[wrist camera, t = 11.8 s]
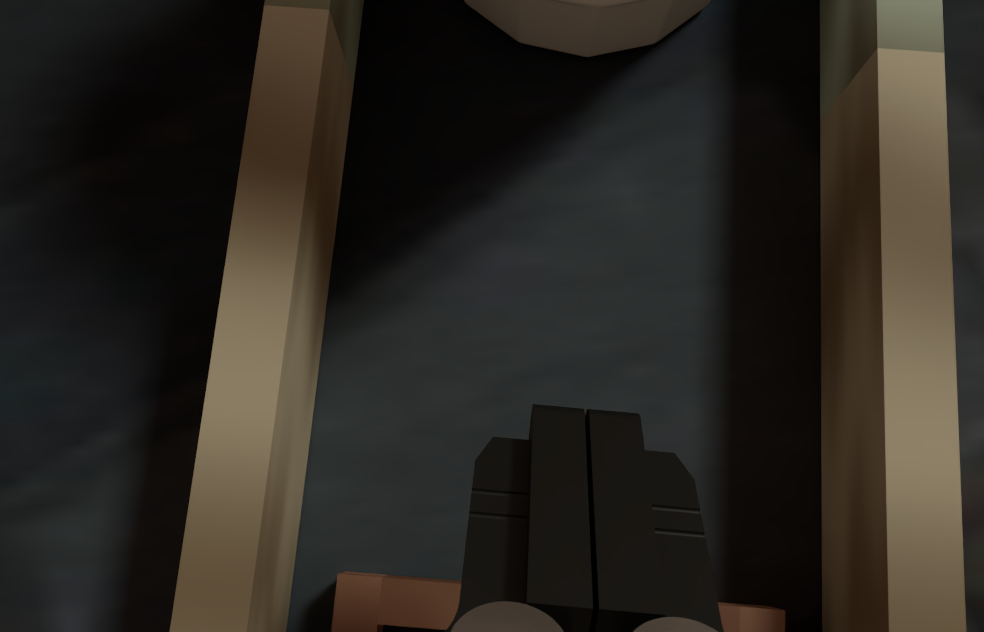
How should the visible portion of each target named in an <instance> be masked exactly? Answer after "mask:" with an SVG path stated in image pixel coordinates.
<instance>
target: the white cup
mask: <svg viewBox="0 0 984 632" xmlns="http://www.w3.org/2000/svg"><path fill="white" fill-rule="evenodd" d="M710 1H711V0H464V2H465V3H466V4H467V5H468V6H470V7H471V8H472V9H474V10H475V11H477V12H478V13H479V14H481V15H482V16H483V17H485V18H486V19H487V20H489V21H490V22H492V23H493V24H494V25H496V26H497V27H498V28H500V29H501V30H502V31H504V32H505V33H507V34H508V35H509V36H511V37H512V38H513V39H515V40H516V41H518V42H519V43H522V44H527V45H532V46H536V47H541V48H546V49H551V50H555V51H560V52H565V53H569V54H574V55H578V56H583V57H592V56H597V55H602V54H607V53H612V52H617V51H622V50H627V49H632V48H637V47H642V46H647V45H652V44H655V43H657V42H658V41H659V40H661V39H662V38H664V37H665V36H666V35H668V34H669V33H670V32H672V31H673V30H675V29H676V28H677V27H679V26H680V25H681V24H683V23H684V22H686V21H687V20H688V19H690V18H691V17H692V16H694V15H695V14H697V13H698V12H699V11H701V10H702V9H703V8H705V7H706V6H707V5H708V4H709V3H710Z"/></svg>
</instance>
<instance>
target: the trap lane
mask: <svg viewBox="0 0 984 632" xmlns="http://www.w3.org/2000/svg"><path fill="white" fill-rule="evenodd" d="M363 5H364V0H265V3H264V10H263V17H262V23H261V30H260V36H259V43H258V50H257V56H256V63H255V69H254V76H253V83H252V89H251V96H250V103H249V109H248V116H247V122H246V129H245V136H244V142H243V149H242V156H241V162H240V169H239V175H238V182H237V189H236V195H235V202H234V208H233V215H232V222H231V228H230V235H229V242H228V248H227V255H226V261H225V268H224V275H223V281H222V288H221V294H220V301H219V308H218V314H217V321H216V328H215V334H214V341H213V347H212V354H211V361H210V367H209V374H208V381H207V387H206V394H205V400H204V407H203V414H202V420H201V427H200V433H199V440H198V447H197V453H196V460H195V467H194V473H193V480H192V486H191V493H190V500H189V506H188V513H187V519H186V526H185V533H184V539H183V546H182V553H181V559H180V566H179V572H178V579H177V586H176V592H175V599H174V606H173V612H172V619H171V625H170V632H286V629H287V621H288V613H289V605H290V597H291V589H292V580H293V572H294V564H295V556H296V548H297V540H298V532H299V524H300V516H301V508H302V499H303V491H304V483H305V475H306V467H307V459H308V451H309V443H310V435H311V427H312V418H313V410H314V402H315V394H316V386H317V378H318V370H319V362H320V354H321V346H322V337H323V329H324V321H325V313H326V305H327V297H328V289H329V281H330V273H331V264H332V256H333V248H334V240H335V232H336V224H337V216H338V208H339V200H340V192H341V183H342V175H343V167H344V159H345V151H346V143H347V135H348V127H349V119H350V111H351V102H352V94H353V86H354V78H355V70H356V62H357V54H358V46H359V38H360V30H361V21H362V13H363ZM820 204H821V471H822V632H966V615H965V588H964V562H963V535H962V509H961V483H960V456H959V430H958V404H957V377H956V351H955V324H954V298H953V272H952V245H951V219H950V193H949V166H948V140H947V113H946V87H945V61H944V34H943V8H942V0H820ZM461 582H462V581H455V580H443V579H431V578H419V577H406V576H394V575H382V574H370V573H358V572H343V573H339V574H338V576H337V585H336V594H335V602H334V611H333V620H332V629H331V632H383V625H392V626H404V627H416V628H429V629H441V630H446V629H447V628H448V627H449V626H450V624H451V623H452V621H453V619H454V617H455V615H456V613H457V610H458V605H459V600H460V591H461ZM718 606H719V611H720V616H721V622H722V626H723V630H724V632H785V610H782V609H778V608H774V607H770V606H761V605H749V604H737V603H725V602H718Z"/></svg>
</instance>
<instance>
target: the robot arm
mask: <svg viewBox="0 0 984 632" xmlns="http://www.w3.org/2000/svg"><path fill="white" fill-rule="evenodd" d="M445 632H724V630H723V626H722V622H721V616H720V611H719V606H718V601H717V595H716V590H715V585H714V580H713V575H712V569H711V564H710V559H709V554H708V548H707V543H706V539H705V538H704V527H703V522H702V517H701V514H700V506H699V501H698V496H697V491H696V486H695V480H694V479H693V477H692V476H691V475H690V473H689V472H688V470H687V469H686V468H685V466H684V465H683V464H682V462H681V461H680V460H679V458H678V457H677V456H676V454H675V453H668V452H657V451H646V450H645V449H644V441H643V433H642V425H641V418H640V415H639V414H638V413H627V412H615V411H604V410H593V409H587V411H586V415H585V413H584V409H580V408H568V407H557V406H546V405H535V404H533V407H532V413H531V422H530V431H529V440H522V439H510V438H499V437H493V438H492V439H491V440H490V442H489V443H488V444H487V446H486V447H485V448H484V450H483V451H482V452H481V453H480V455H479V456H478V457H477V459H476V460H475V468H474V477H473V486H472V494H471V503H470V512H469V521H468V530H467V538H466V547H465V556H464V565H463V573H462V582H461V591H460V600H459V605H458V610H457V613H456V615H455V617H454V619H453V621H452V623H451V624H450V626H449V627H448V628H447V629H446V631H445Z"/></svg>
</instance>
